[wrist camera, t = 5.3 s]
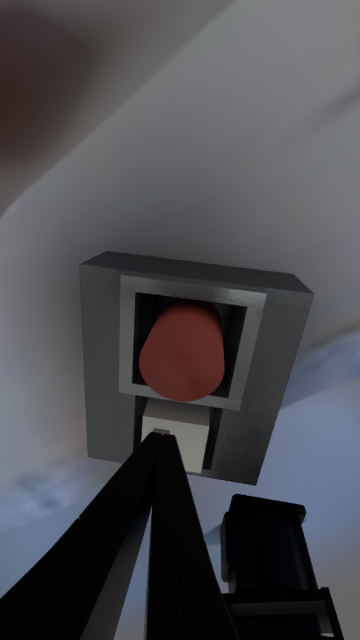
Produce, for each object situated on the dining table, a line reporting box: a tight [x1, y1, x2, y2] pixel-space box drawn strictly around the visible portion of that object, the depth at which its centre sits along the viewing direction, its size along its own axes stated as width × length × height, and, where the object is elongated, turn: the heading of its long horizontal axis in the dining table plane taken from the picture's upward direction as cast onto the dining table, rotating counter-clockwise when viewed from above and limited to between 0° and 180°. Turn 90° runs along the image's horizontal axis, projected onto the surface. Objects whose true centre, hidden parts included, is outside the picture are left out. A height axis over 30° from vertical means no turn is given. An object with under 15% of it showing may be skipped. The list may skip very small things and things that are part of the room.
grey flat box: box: [79, 251, 314, 486], centre depth 19 cm, size 12×14×5 cm
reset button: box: [139, 297, 224, 402], centre depth 15 cm, size 4×4×5 cm
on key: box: [141, 397, 210, 473], centre depth 20 cm, size 4×4×5 cm
